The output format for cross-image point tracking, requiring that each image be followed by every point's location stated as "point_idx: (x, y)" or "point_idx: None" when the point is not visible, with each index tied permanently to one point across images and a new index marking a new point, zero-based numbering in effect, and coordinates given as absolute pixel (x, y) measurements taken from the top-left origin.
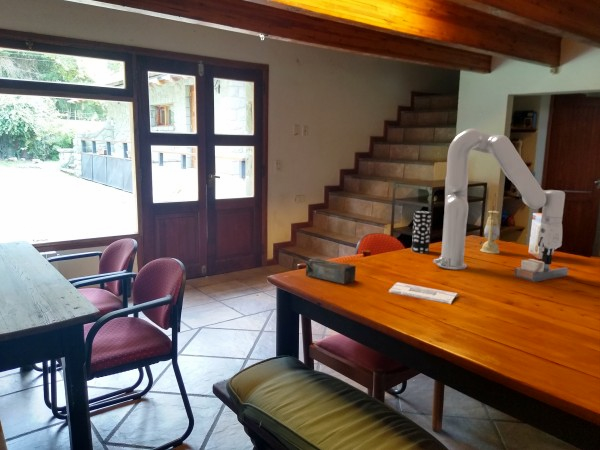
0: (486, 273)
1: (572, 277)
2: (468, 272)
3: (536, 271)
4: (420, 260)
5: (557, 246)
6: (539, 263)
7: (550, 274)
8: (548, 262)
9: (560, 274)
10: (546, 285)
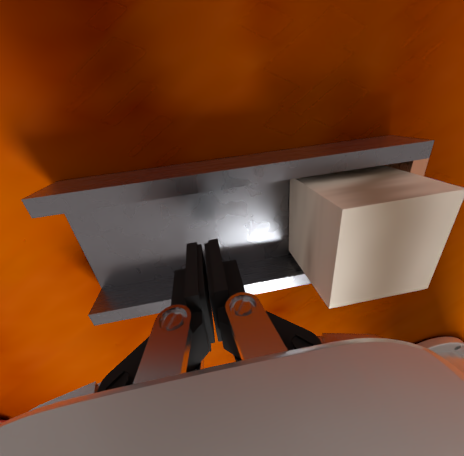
0: (417, 293)
1: (49, 130)
2: (452, 311)
3: (382, 175)
4: None
5: (112, 413)
6: (406, 197)
7: (253, 159)
8: (219, 249)
9: (134, 173)
10: (405, 44)
